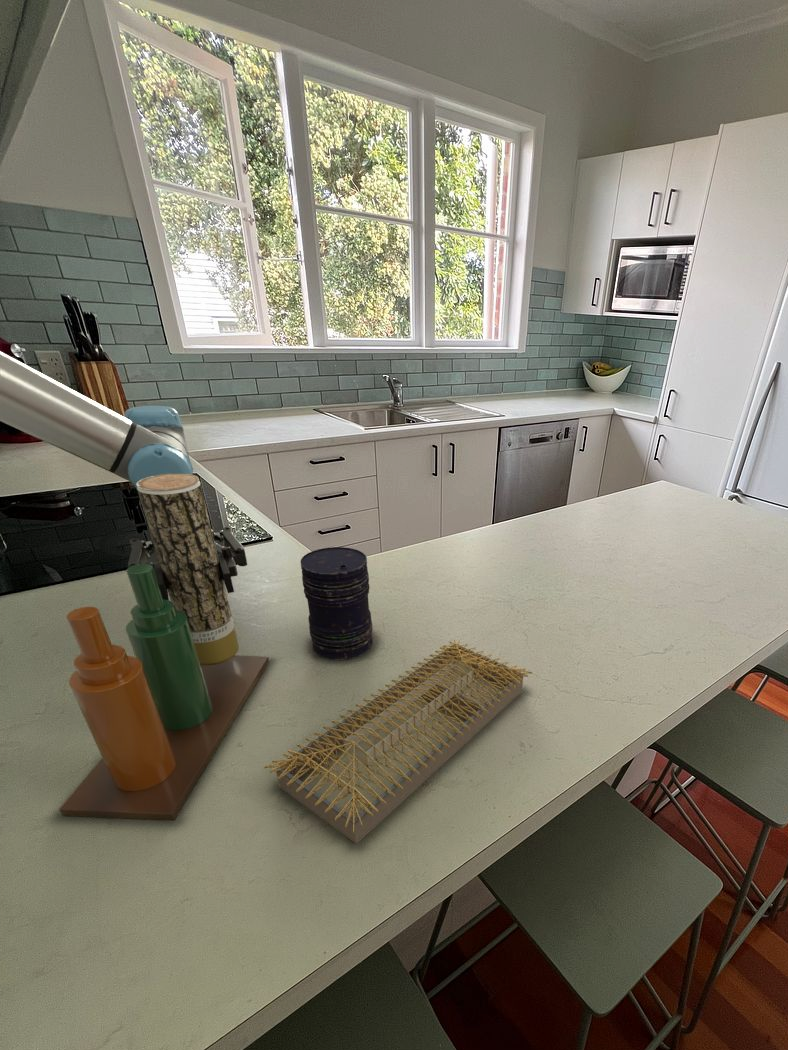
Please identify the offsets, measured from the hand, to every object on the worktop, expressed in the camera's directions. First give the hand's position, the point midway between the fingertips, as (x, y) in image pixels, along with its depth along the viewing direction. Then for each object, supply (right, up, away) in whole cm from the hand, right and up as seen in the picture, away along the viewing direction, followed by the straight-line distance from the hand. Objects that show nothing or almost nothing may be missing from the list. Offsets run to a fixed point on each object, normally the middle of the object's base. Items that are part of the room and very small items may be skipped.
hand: (196, 588), depth 68 cm
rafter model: (+27, -19, +4) cm, 33 cm away
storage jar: (+13, -7, +21) cm, 26 cm away
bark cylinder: (-3, -9, +11) cm, 14 cm away
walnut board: (-3, -18, +3) cm, 18 cm away
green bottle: (-3, -17, +4) cm, 18 cm away
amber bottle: (-3, -22, -4) cm, 23 cm away
